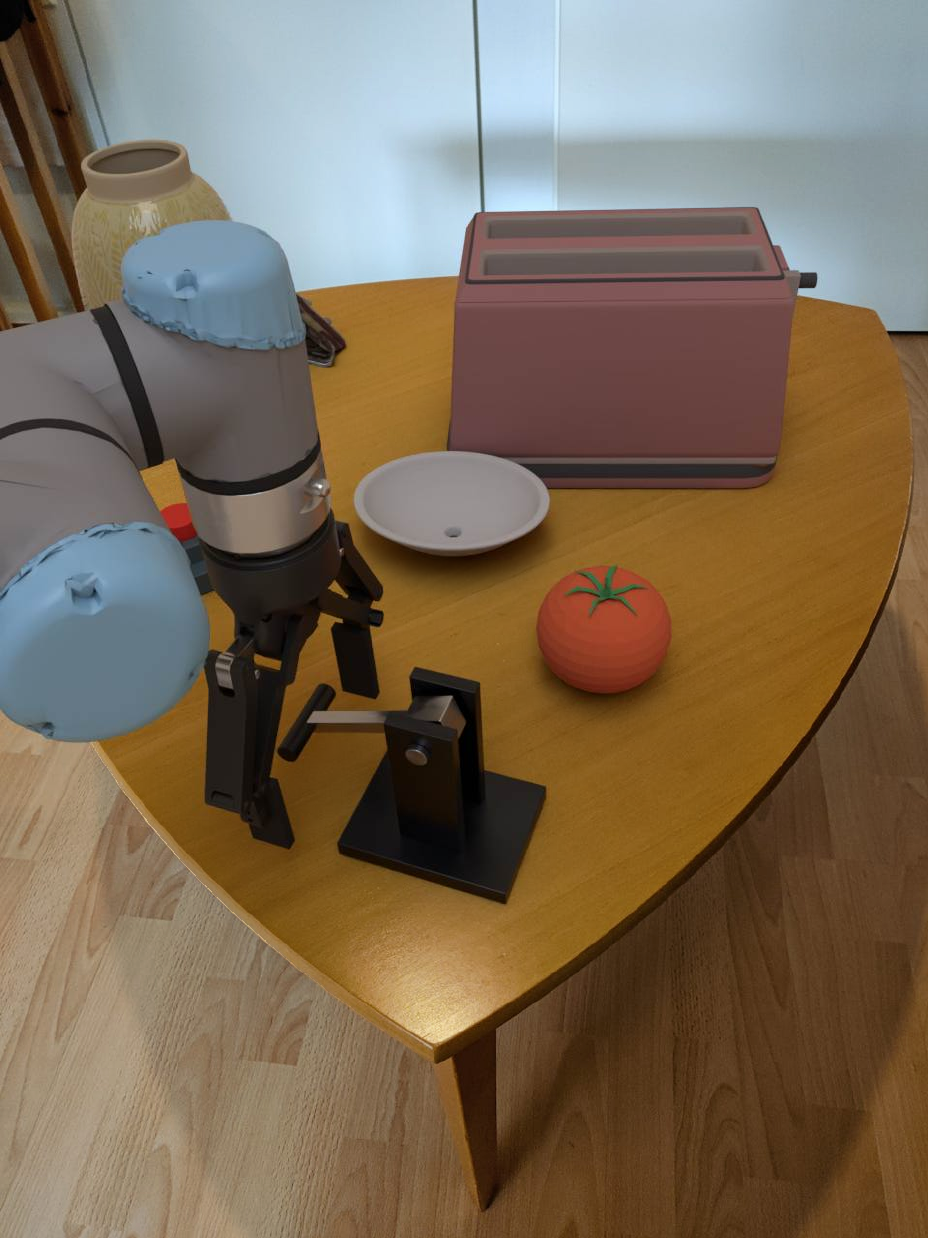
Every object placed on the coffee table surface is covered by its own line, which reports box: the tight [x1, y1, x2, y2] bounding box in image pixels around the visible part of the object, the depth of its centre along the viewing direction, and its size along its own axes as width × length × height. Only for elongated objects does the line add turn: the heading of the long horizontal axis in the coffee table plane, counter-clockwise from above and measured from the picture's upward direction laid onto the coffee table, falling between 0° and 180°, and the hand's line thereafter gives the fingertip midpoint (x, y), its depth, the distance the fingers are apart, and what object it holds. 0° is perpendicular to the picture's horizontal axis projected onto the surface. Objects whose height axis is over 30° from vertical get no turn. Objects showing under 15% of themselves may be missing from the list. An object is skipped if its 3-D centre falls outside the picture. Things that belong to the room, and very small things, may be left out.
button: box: [159, 502, 198, 542], centre depth 88 cm, size 4×4×2 cm
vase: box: [70, 139, 234, 311], centre depth 101 cm, size 17×17×27 cm
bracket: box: [336, 666, 547, 905], centre depth 65 cm, size 12×9×13 cm
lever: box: [276, 682, 466, 763], centre depth 64 cm, size 12×6×2 cm, turn 70°
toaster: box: [446, 206, 818, 489], centre depth 96 cm, size 19×34×20 cm, turn 86°
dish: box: [353, 450, 551, 557], centre depth 90 cm, size 18×14×5 cm
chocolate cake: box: [296, 293, 347, 368], centre depth 120 cm, size 10×7×12 cm
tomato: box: [535, 564, 672, 694], centre depth 76 cm, size 10×10×10 cm
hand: (320, 761), depth 69 cm, fingers open, 13 cm apart
